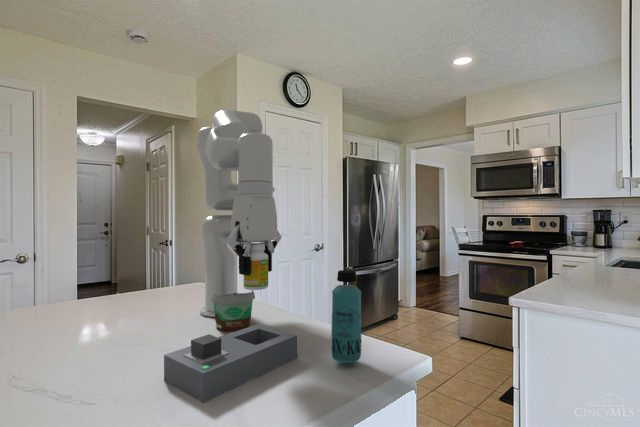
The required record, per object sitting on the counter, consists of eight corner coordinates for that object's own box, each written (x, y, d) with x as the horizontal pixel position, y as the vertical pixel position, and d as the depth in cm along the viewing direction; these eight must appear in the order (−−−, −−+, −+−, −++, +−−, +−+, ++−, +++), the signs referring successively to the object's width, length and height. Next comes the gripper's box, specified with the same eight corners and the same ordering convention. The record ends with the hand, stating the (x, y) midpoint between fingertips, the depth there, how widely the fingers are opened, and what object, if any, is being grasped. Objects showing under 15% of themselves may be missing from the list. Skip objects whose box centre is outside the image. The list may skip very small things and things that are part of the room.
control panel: (258, 344, 88) (257, 311, 88) (297, 357, 80) (297, 321, 80) (164, 380, 69) (163, 339, 69) (203, 402, 61) (203, 355, 61)
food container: (215, 336, 94) (215, 298, 94) (211, 329, 99) (210, 293, 99) (260, 329, 99) (260, 293, 99) (254, 323, 105) (254, 289, 105)
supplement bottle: (263, 291, 76) (262, 245, 76) (239, 289, 77) (239, 244, 77) (271, 285, 81) (271, 243, 81) (249, 284, 82) (249, 242, 82)
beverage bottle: (329, 358, 79) (329, 268, 79) (359, 357, 80) (358, 267, 80) (333, 371, 73) (332, 273, 73) (365, 369, 73) (364, 272, 73)
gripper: (272, 192, 88) (272, 266, 88) (212, 189, 75) (212, 276, 75) (294, 191, 83) (294, 269, 83) (234, 188, 70) (235, 280, 70)
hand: (255, 271), depth 79 cm, fingers closed on supplement bottle, 5 cm apart
